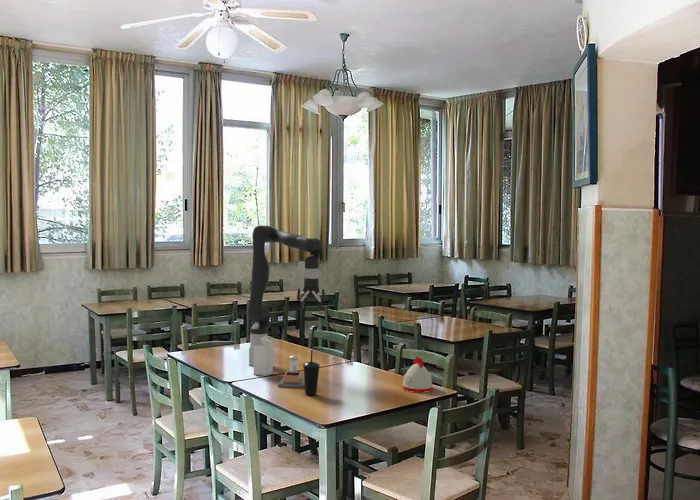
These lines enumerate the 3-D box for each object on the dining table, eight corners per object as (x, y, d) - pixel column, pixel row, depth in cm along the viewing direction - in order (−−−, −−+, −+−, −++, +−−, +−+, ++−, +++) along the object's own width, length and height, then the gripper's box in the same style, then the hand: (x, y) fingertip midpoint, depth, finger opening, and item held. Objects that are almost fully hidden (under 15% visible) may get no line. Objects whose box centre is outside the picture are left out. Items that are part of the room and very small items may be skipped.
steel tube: (287, 381, 296) (288, 356, 296) (289, 379, 301) (289, 354, 300) (296, 382, 296) (297, 357, 296) (297, 380, 300) (298, 355, 300)
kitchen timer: (412, 393, 285) (413, 361, 285) (397, 386, 298) (397, 355, 297) (438, 390, 291) (438, 358, 291) (422, 384, 304) (422, 353, 303)
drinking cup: (312, 397, 275) (313, 352, 275) (298, 395, 279) (299, 350, 279) (322, 394, 282) (323, 350, 281) (308, 391, 286) (309, 348, 285)
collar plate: (277, 386, 293) (278, 376, 292) (282, 380, 305) (282, 370, 304) (303, 387, 292) (303, 377, 292) (306, 381, 304) (307, 371, 304)
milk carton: (253, 374, 315) (254, 337, 315) (260, 371, 322) (261, 335, 321) (265, 376, 313) (266, 338, 312) (272, 373, 319) (273, 336, 319)
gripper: (296, 277, 317) (296, 309, 317) (324, 278, 316) (323, 310, 316) (298, 276, 324) (298, 307, 325) (326, 277, 323) (325, 308, 324)
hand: (310, 308), depth 321 cm, fingers open, 8 cm apart
